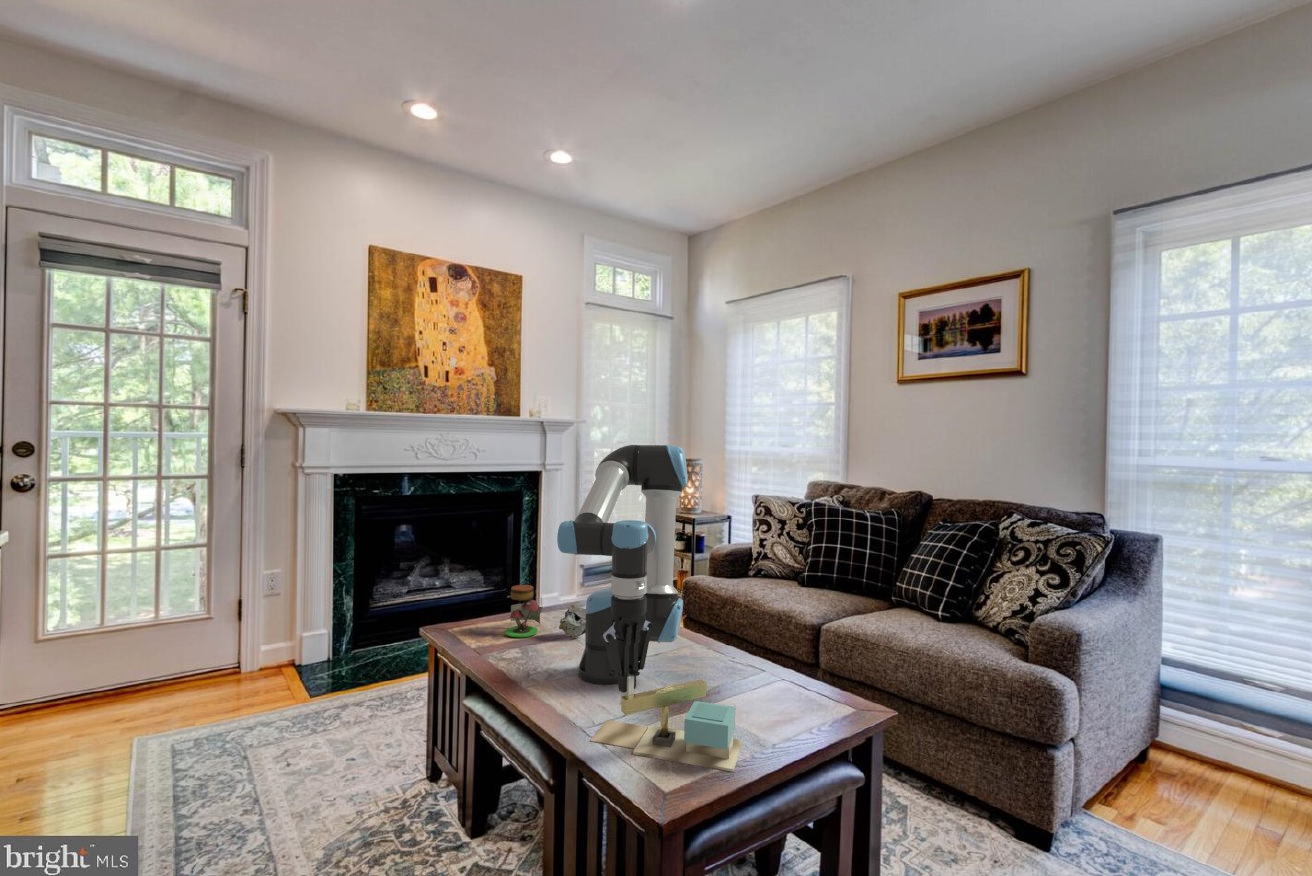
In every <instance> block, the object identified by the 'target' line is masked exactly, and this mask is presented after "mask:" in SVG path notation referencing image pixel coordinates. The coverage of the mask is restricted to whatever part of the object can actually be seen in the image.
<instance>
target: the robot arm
mask: <svg viewBox="0 0 1312 876" xmlns="http://www.w3.org/2000/svg"><path fill="white" fill-rule="evenodd" d="M687 467H688V466H687V461H686V453H685V451H684V449H683V448H682V447H681V446H676V445H668V444H666V445H665V444H664V445H661V444H660V445H659V444H657V445H656V444H654V445H652V444H651V445H650V444H648V445H647V444H646V445H645V444H628V445H624V446H621V447H619V448H617V449H615V450H614V451H612V452H610V453H609V454H607V455H606V456H605V457H604V458H603V459H602V460H601V461H600V463H599V464H598V466H597V467H596V469H595V473H594V477H595V479H594V481H593V484H592V486H591V488H590V490H589V492H588V494H587V496H586V498H585V500H584V502H583V504H582V505H581V507H580V510H579V512H578V514H577V516H576V518H575V520H571V519H570V520H564V521H562V522H560V523H559V526H558V530H557V536H556V537H557V541H556V542H557V547H558V550H559V551H560V552H561V553H563V554H572V555H575V556H577V555H578V556H579V555H580V556H603V557H604V556H605V557H611V577H610V579H611V580H610V581H611V582H610V583H611V587H610V588H606V589H601V590H597V591H595V592H592V593H591V594H590V595H589V596H588V597H587V598H586V603H585V604H586V605H585V606H586V607H585V609H586V611H585V614H586V629H585V633H584V634H585V636H584V638H585V641H584V642H585V643H584V650H583V652H582V656H581V659H580V662H579V664H578V671H577V675H578V678H579V680H580V681H583V682H584V683H586V684H587V683H588V684H590V685H595V686H612V685H613V686H615V685H618V686H617V687H618V691H619V692H620V700H619V701H620V702H619V703H620V705H621V697H623V696H627V695H632V694H635V693H634V692H635V689H636V687H637V677H639V675H640V674H641V672H640V670H641V671H643V670H644V668H645V665H646V661H647V659H646V658H647V656H648V655H647V654H648V649H649V643H650V642H654V643H658V644H660V643H672V642H675V641H676V640H677V638H678V635H679V631H680V627H681V622H682V617H683V610H684V609H683V607H684V600H683V599H682V598H680V597H679V591H678V590H677V589H676V588H675V587H674V569H675V568H674V565H675V563H674V562H675V561H674V560H675V542H676V541H675V539H676V515H677V511H676V510H677V499H678V498H679V497H680V496H681V495H682V494H683V488H687V487H688V479H689V478H688V468H687ZM627 486H640V487H641V489H640V490H641V491H640V492H641V494H643V496H645V515H644V517H645V519H644V521H643V520H634V519H629V520H628V519H627V520H626V519H625V520H618V521H616V522H609V520H610V518H611V515H612V514H613V513H612V512H613V511H614V508H615V506H616V503H617V502H618V499H619V496H620V494H621V491H623V490H625V488H626V487H627Z"/></svg>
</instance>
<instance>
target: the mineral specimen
mask: <svg viewBox="0 0 1312 876" xmlns="http://www.w3.org/2000/svg"><path fill="white" fill-rule="evenodd" d="M585 611H586V608H584V607H580V606H579V607H578V606H577V605H574V604H570V605H569V606H568V608H567V610H566V611H565V613H564V618H563V617H562V618H561V619H560V620H559V626H558V629H559V630H561V631H564V634H565V635H566V636H567V635H569V636H570V637H571V638H573V639H575V638H579V637H580V636H582V635H584V634H585V629H586V614H585Z"/></svg>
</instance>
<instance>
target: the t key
mask: <svg viewBox="0 0 1312 876" xmlns="http://www.w3.org/2000/svg"><path fill="white" fill-rule="evenodd" d="M706 696H707V682H706V681H704V680H703V679H697V680H692V681H687V682H684V683H679V684H674V685H670V686H666V687H665V686H664V687H661V688H660V687H659V688H656V689H652V690H651V689H650V690H647V691H642V692H637V693H634V694H632V695H627V696H623V697H621V696H620V699H621V704H620V706H621V707H620V708H621V709H620V710H621V712H622V714H624V715H625V716H626V715H628V716H629V715H632V714H636V713H640V712H645V711H648V710H652V709H656V708H660V727H661V736H660V737H662V738H668V728H669V706H670V705H673V704H674V705H675V704H679V703H683V702H686V701H687V702H688V701H691V700H696V699H700V698H703V697H704V698H705V697H706Z"/></svg>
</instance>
